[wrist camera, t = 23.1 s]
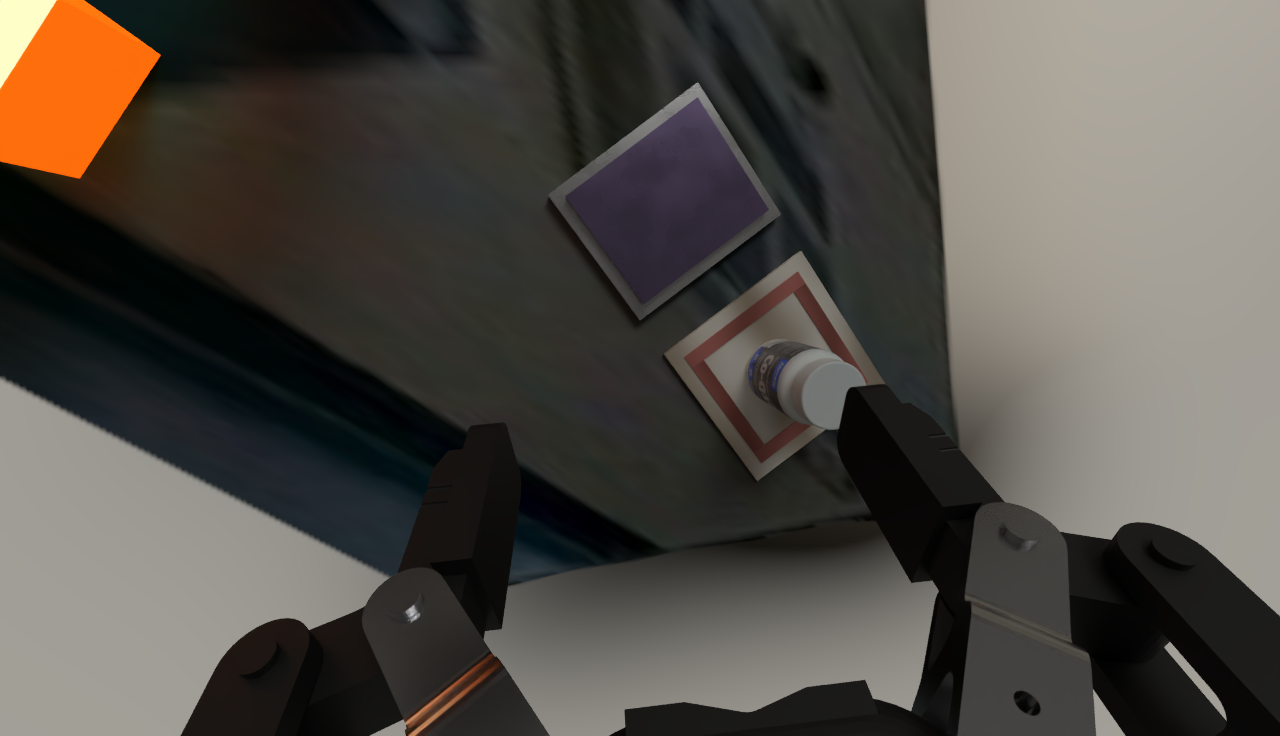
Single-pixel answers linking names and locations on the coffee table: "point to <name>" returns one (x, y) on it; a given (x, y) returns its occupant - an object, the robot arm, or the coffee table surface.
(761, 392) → the pill bottle
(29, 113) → the orange juice
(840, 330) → the marked board
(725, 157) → the ink pad
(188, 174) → the coffee table surface
